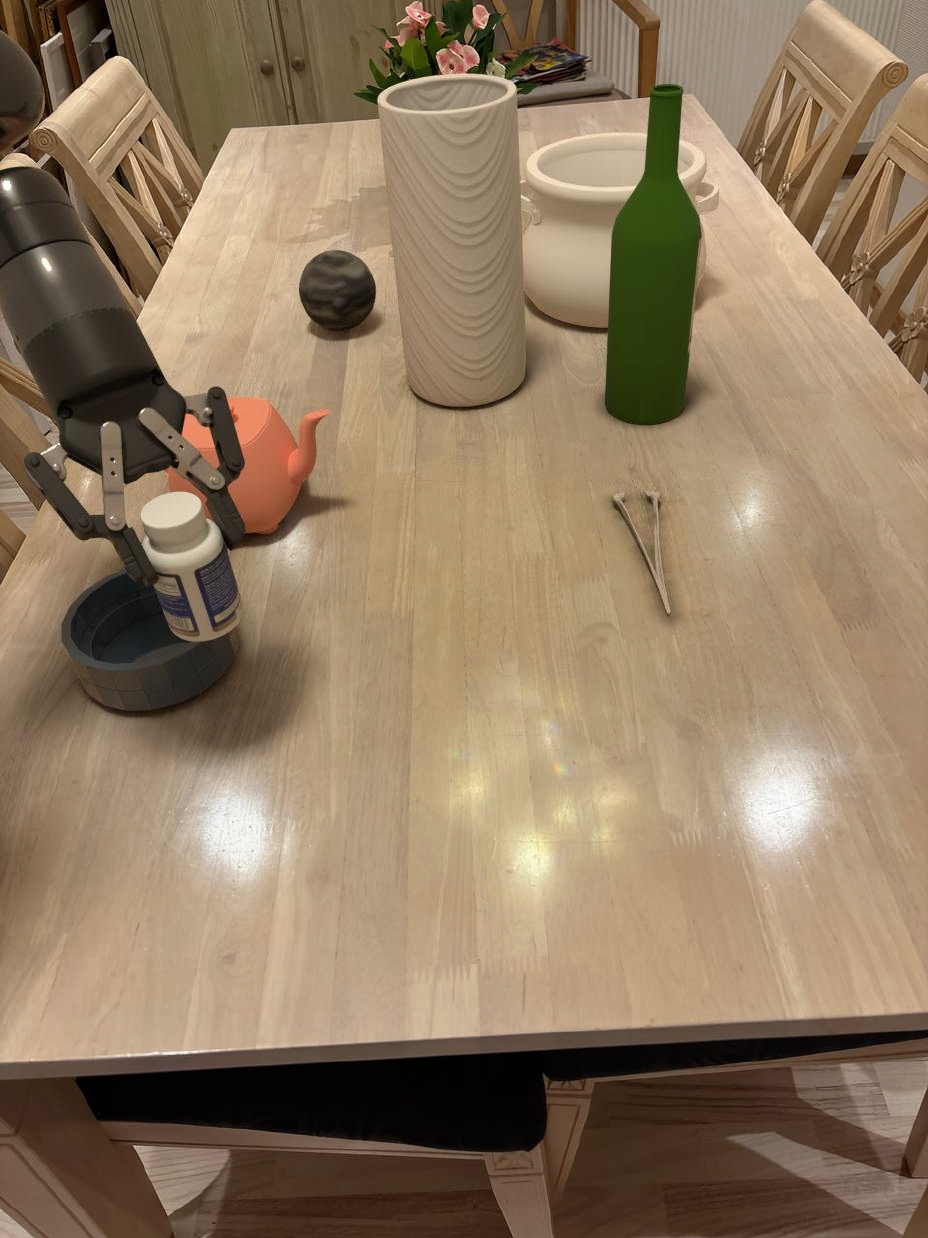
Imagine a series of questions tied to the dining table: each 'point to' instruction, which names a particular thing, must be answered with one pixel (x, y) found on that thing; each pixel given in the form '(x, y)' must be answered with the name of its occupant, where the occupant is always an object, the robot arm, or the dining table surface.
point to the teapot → (258, 461)
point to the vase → (456, 234)
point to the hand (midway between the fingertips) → (195, 563)
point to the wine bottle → (653, 279)
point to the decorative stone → (337, 290)
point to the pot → (589, 218)
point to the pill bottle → (190, 567)
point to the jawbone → (660, 578)
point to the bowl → (138, 648)
